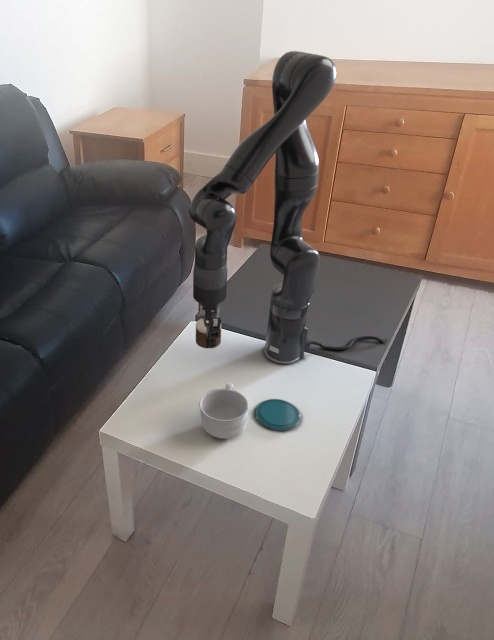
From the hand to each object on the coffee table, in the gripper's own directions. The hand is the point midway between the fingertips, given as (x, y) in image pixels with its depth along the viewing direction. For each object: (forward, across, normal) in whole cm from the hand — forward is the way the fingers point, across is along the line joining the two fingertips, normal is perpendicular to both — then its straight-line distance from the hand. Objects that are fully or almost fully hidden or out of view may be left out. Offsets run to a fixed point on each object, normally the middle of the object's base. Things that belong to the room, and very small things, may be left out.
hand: (208, 338), depth 143 cm
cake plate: (+14, -14, -14) cm, 24 cm away
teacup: (+14, -15, -1) cm, 21 cm away
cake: (+1, 0, 0) cm, 1 cm away
